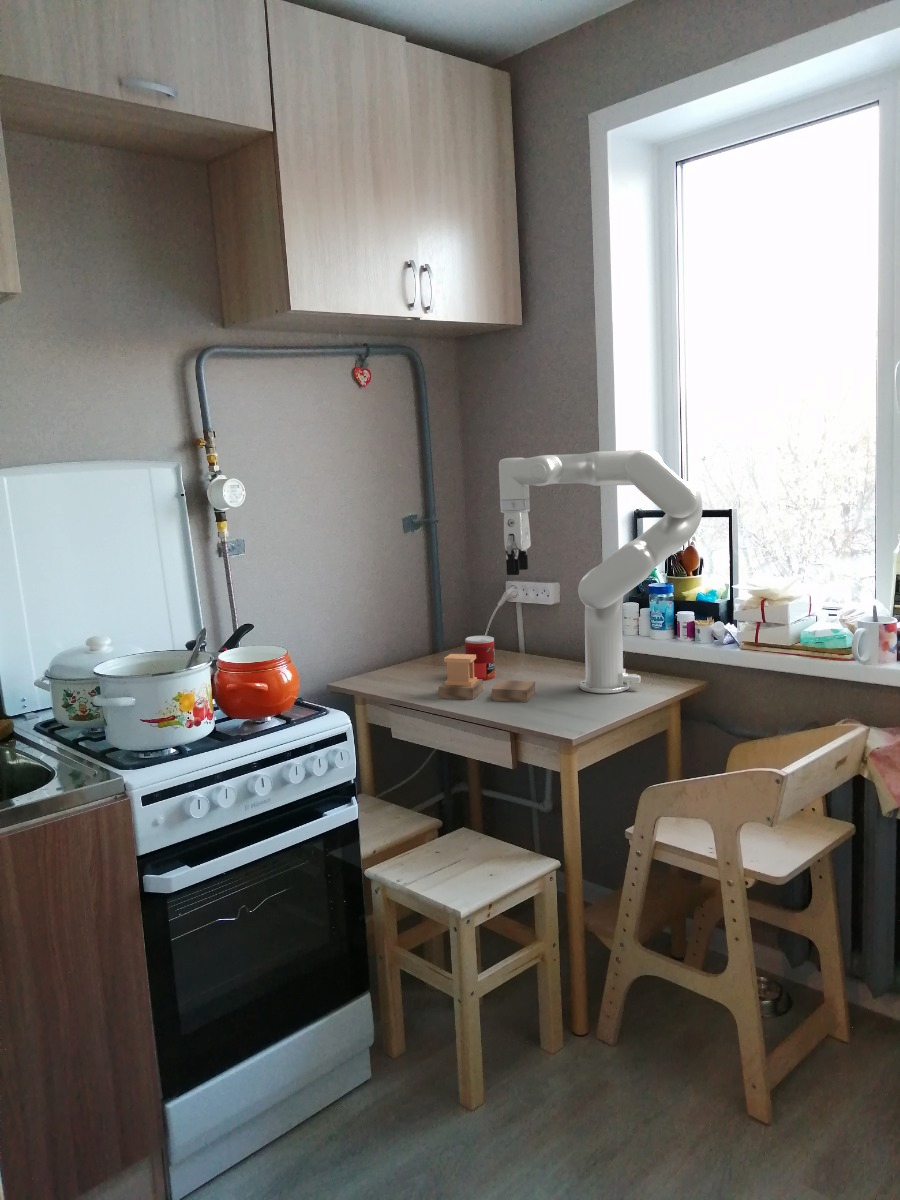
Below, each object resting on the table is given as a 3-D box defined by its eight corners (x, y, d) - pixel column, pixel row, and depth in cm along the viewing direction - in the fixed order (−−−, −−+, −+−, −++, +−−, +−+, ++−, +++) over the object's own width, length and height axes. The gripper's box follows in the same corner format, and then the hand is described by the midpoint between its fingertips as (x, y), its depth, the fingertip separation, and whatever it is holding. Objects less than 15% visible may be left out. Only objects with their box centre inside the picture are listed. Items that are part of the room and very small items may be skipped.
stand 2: (535, 692, 243) (535, 681, 242) (527, 702, 235) (526, 690, 234) (501, 691, 246) (501, 680, 245) (492, 700, 237) (491, 688, 237)
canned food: (493, 681, 257) (491, 641, 255) (464, 680, 258) (462, 641, 257) (497, 674, 264) (496, 635, 262) (469, 673, 266) (467, 635, 264)
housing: (477, 681, 245) (476, 654, 244) (471, 685, 241) (470, 658, 240) (451, 680, 247) (450, 653, 246) (445, 684, 243) (444, 658, 242)
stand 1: (483, 690, 247) (482, 679, 247) (473, 699, 239) (472, 688, 238) (450, 689, 250) (449, 678, 250) (439, 698, 242) (438, 686, 241)
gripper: (521, 508, 235) (524, 576, 237) (536, 503, 251) (539, 567, 254) (492, 509, 237) (495, 577, 240) (509, 504, 253) (511, 567, 256)
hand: (517, 572), depth 247 cm, fingers open, 9 cm apart
